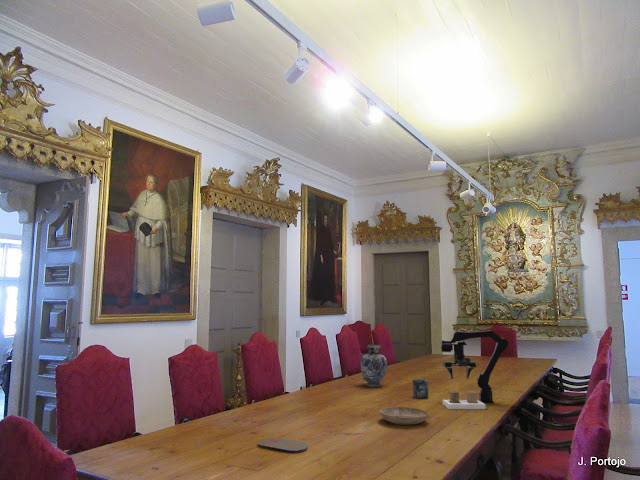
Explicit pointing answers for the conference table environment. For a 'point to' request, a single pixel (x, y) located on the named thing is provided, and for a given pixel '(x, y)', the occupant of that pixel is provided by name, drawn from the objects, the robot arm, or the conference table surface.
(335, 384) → the conference table surface
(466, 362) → the robot arm
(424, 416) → the ceramic bowl
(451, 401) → the beige rectangular block
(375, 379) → the decorative vase
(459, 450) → the conference table surface
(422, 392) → the box
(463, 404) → the white block with holes
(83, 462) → the conference table surface
